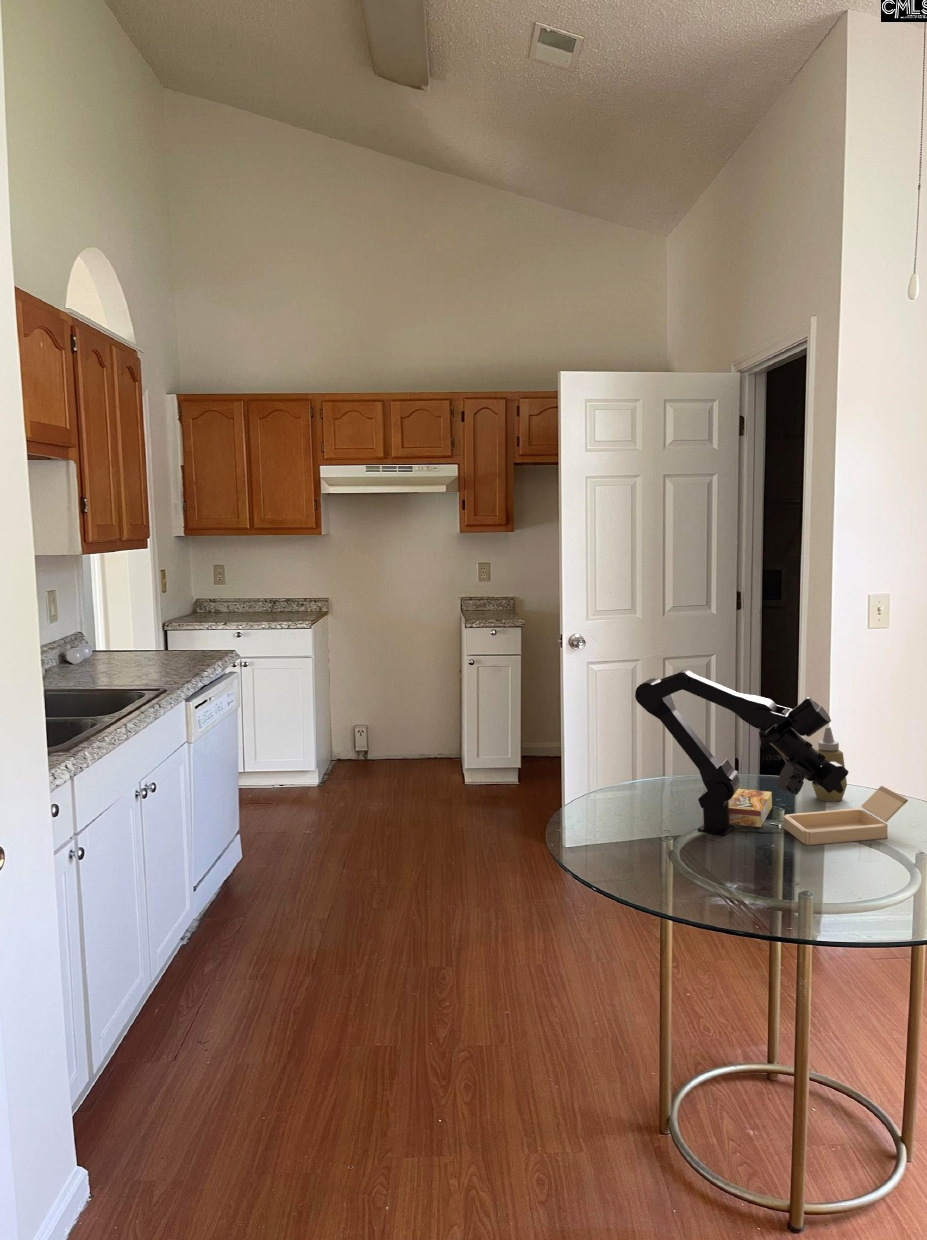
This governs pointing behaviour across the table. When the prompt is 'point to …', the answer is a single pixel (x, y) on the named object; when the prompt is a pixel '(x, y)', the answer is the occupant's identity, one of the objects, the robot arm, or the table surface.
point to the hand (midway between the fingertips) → (841, 791)
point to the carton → (834, 826)
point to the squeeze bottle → (832, 755)
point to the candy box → (749, 807)
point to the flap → (884, 803)
